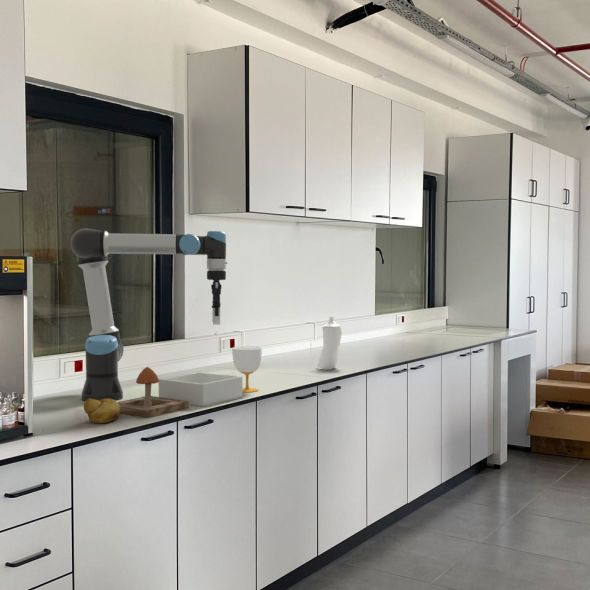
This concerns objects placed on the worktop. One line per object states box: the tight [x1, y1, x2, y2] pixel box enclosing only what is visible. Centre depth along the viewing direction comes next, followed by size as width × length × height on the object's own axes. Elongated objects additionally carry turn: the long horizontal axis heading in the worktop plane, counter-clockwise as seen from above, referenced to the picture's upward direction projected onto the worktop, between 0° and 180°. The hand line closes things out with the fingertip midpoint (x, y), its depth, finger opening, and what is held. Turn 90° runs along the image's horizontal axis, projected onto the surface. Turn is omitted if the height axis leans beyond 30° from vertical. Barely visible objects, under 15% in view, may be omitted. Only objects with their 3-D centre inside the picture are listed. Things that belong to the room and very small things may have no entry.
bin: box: [157, 371, 243, 408], centre depth 282 cm, size 22×22×8 cm
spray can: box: [316, 316, 343, 370], centre depth 364 cm, size 12×11×25 cm
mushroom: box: [135, 366, 160, 407], centre depth 262 cm, size 8×8×15 cm
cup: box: [231, 346, 263, 393], centre depth 301 cm, size 12×12×17 cm
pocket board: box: [116, 395, 190, 419], centre depth 262 cm, size 20×20×2 cm
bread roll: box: [83, 398, 121, 424], centre depth 244 cm, size 13×10×8 cm
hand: (216, 323), depth 301 cm, fingers open, 13 cm apart
